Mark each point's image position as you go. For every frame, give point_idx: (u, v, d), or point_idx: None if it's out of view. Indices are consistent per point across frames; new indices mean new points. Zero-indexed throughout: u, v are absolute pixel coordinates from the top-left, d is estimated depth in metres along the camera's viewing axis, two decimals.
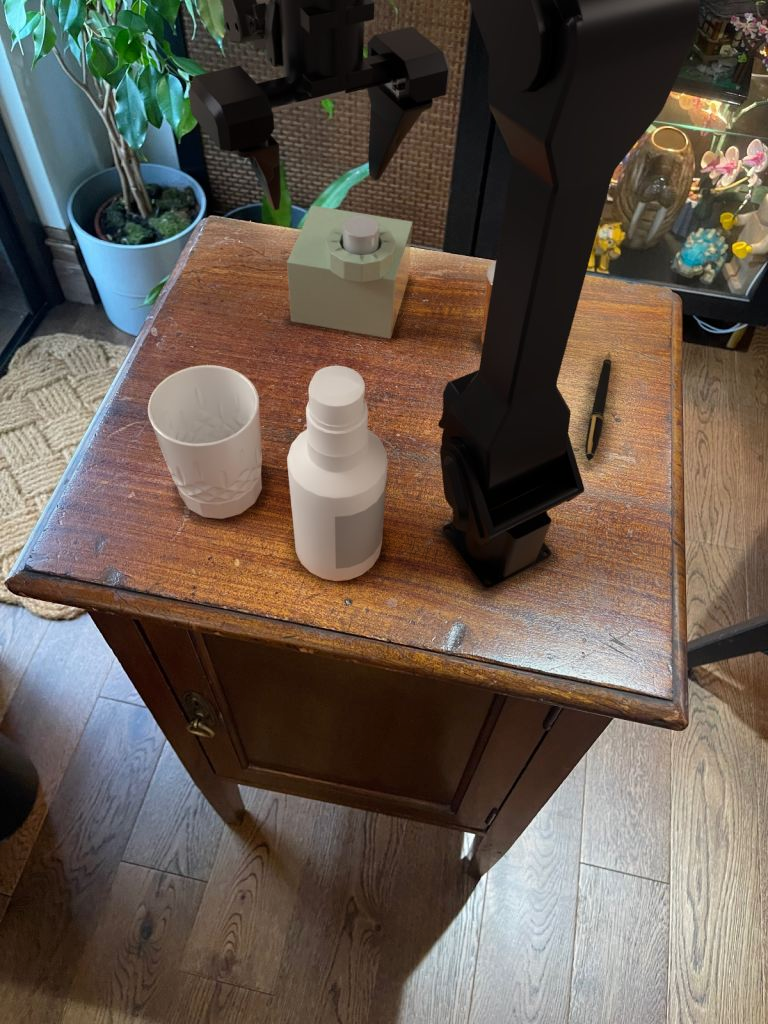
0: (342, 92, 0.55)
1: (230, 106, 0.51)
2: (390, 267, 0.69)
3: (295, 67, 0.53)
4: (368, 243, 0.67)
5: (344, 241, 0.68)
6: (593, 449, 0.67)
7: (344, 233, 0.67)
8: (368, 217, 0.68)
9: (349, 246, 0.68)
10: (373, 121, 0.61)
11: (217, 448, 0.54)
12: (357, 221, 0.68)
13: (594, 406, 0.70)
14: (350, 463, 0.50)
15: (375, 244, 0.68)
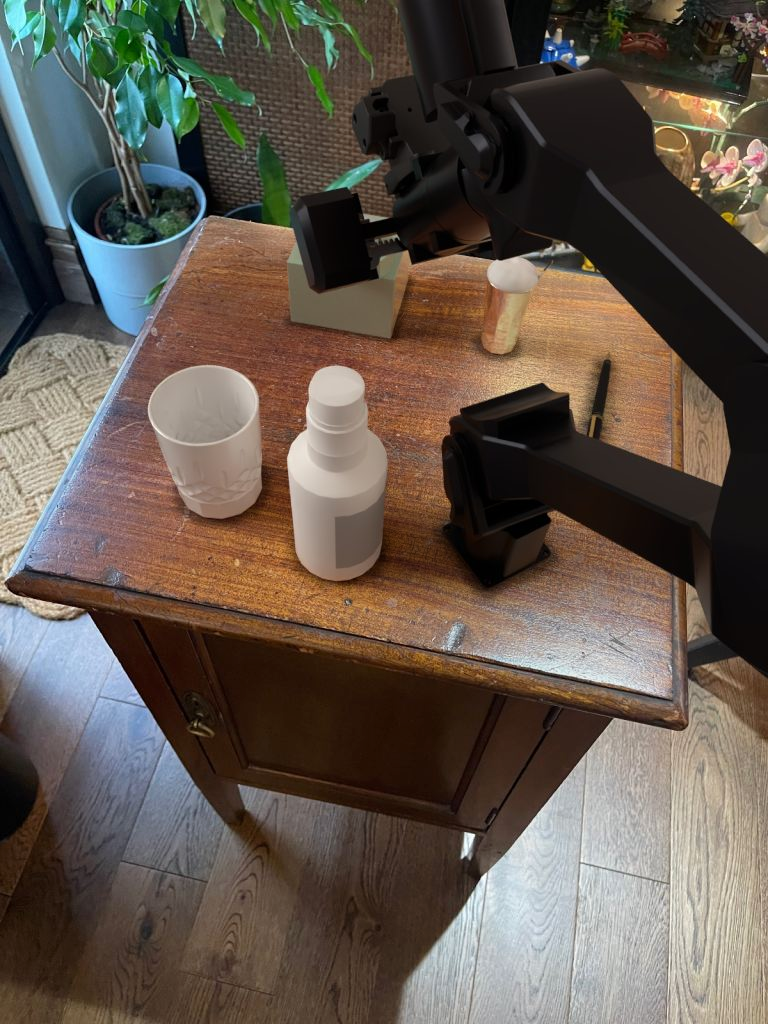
0: None
1: (333, 275, 0.51)
2: (390, 267, 0.69)
3: (408, 235, 0.52)
4: None
5: None
6: None
7: None
8: (368, 217, 0.68)
9: None
10: None
11: (217, 448, 0.54)
12: None
13: (594, 406, 0.70)
14: (350, 463, 0.50)
15: None
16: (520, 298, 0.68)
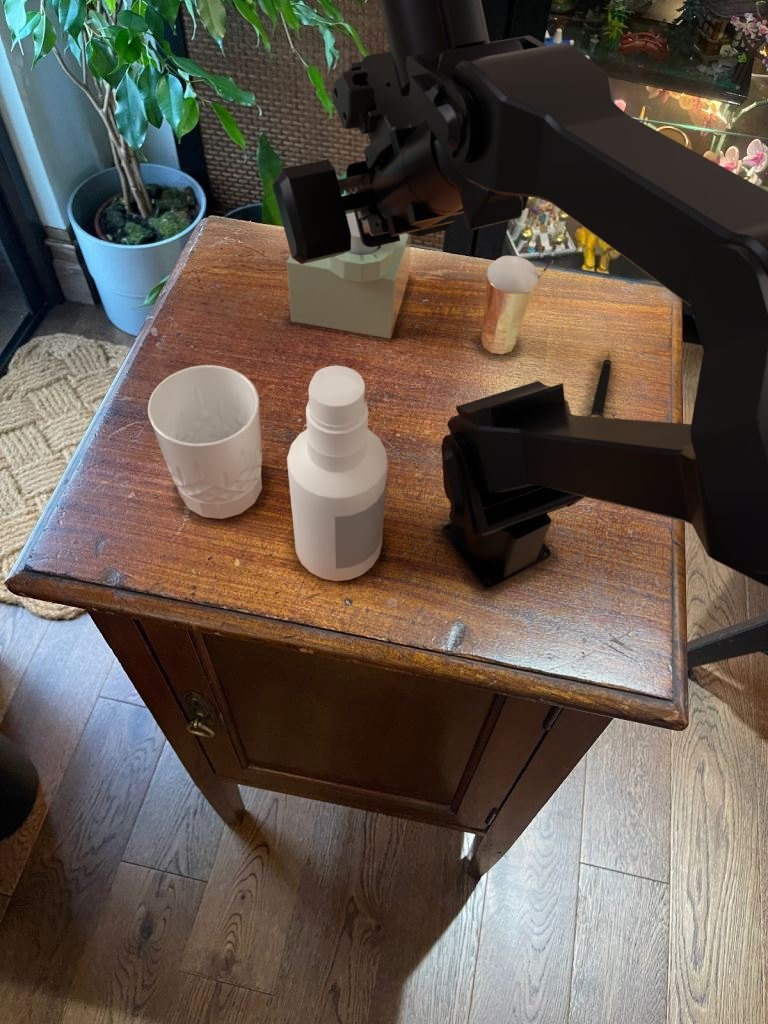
0: None
1: (314, 245, 0.53)
2: (390, 267, 0.69)
3: (387, 207, 0.54)
4: None
5: None
6: None
7: None
8: None
9: None
10: None
11: (217, 448, 0.54)
12: None
13: (593, 406, 0.70)
14: (350, 463, 0.50)
15: None
16: (520, 298, 0.68)
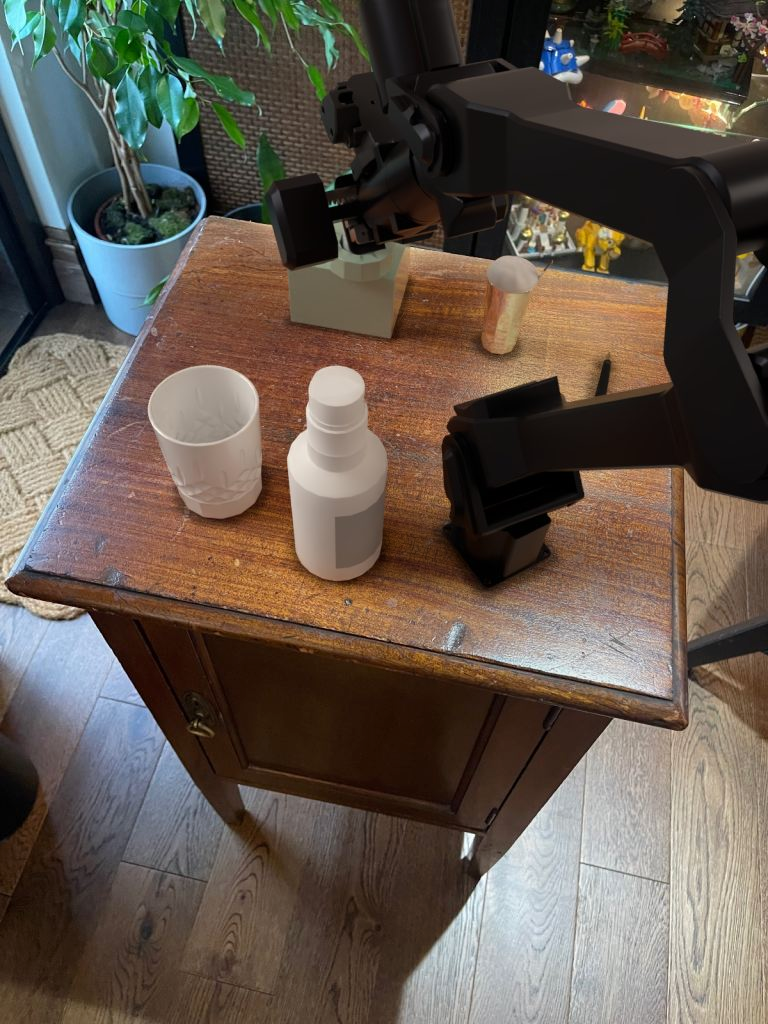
0: None
1: (303, 253, 0.56)
2: (390, 267, 0.69)
3: (372, 217, 0.57)
4: None
5: (344, 245, 0.68)
6: None
7: (344, 237, 0.68)
8: None
9: (349, 250, 0.68)
10: None
11: (217, 448, 0.54)
12: None
13: None
14: (350, 463, 0.50)
15: None
16: (520, 298, 0.68)
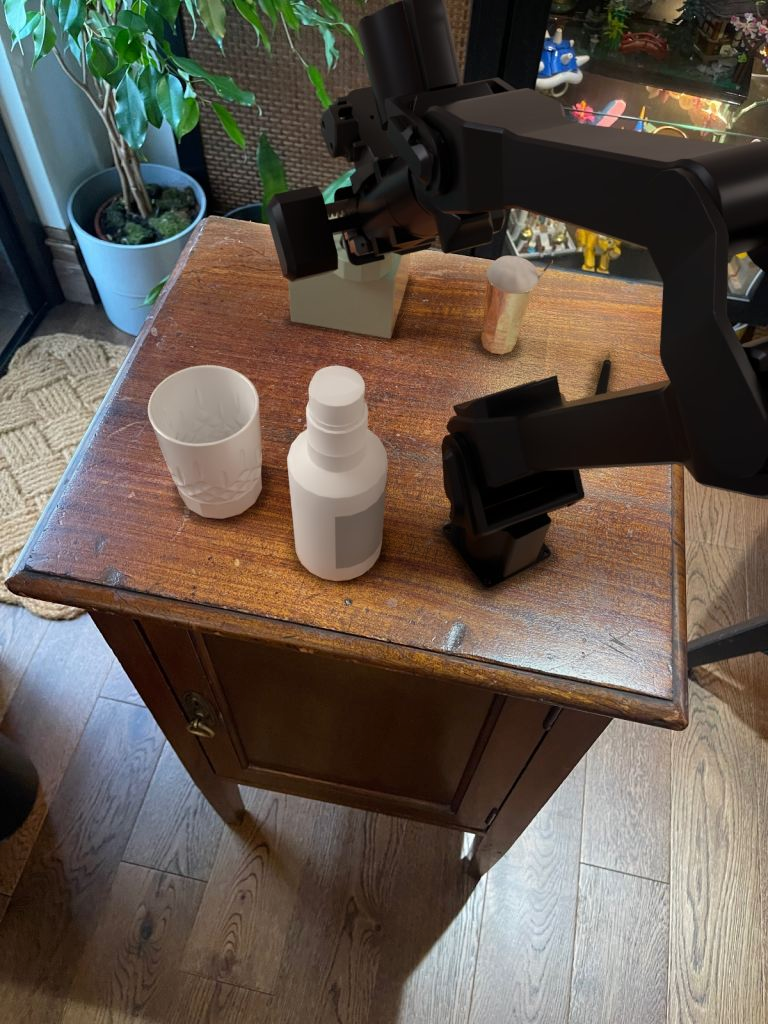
0: None
1: (304, 264, 0.57)
2: (390, 267, 0.69)
3: (371, 229, 0.58)
4: None
5: None
6: None
7: (344, 247, 0.68)
8: None
9: None
10: None
11: (217, 448, 0.54)
12: None
13: None
14: (350, 463, 0.50)
15: None
16: (520, 298, 0.68)
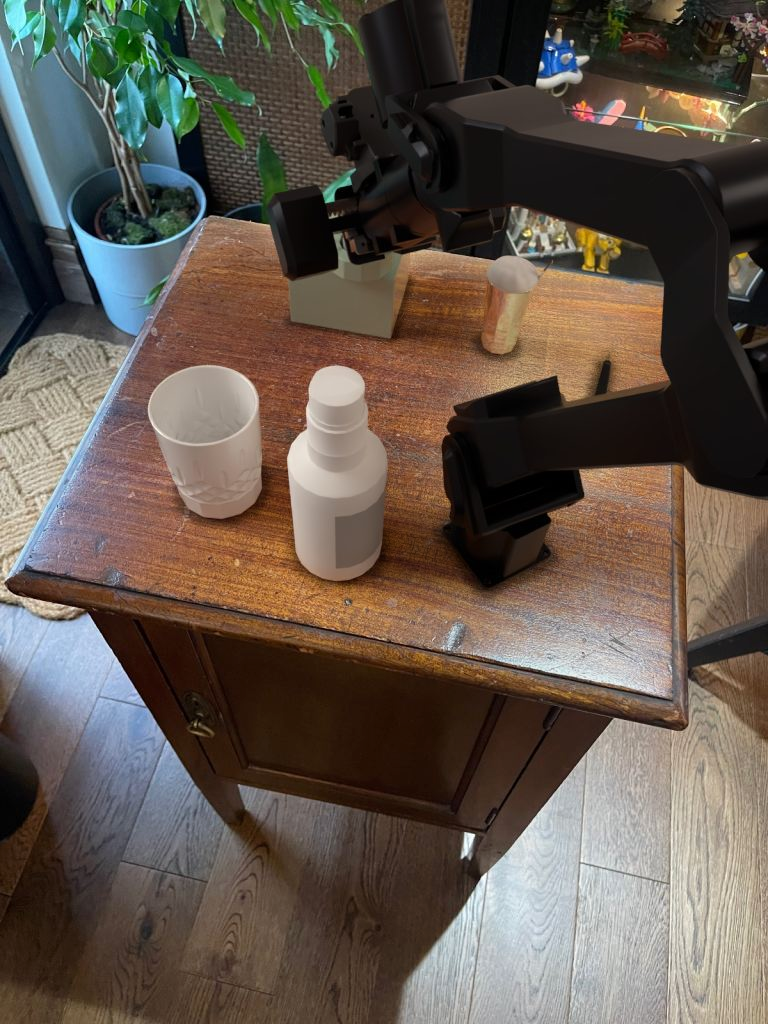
0: None
1: (304, 264, 0.57)
2: (390, 267, 0.69)
3: (371, 228, 0.58)
4: None
5: None
6: None
7: (344, 246, 0.68)
8: None
9: None
10: None
11: (217, 448, 0.54)
12: None
13: None
14: (350, 463, 0.50)
15: None
16: (520, 298, 0.68)
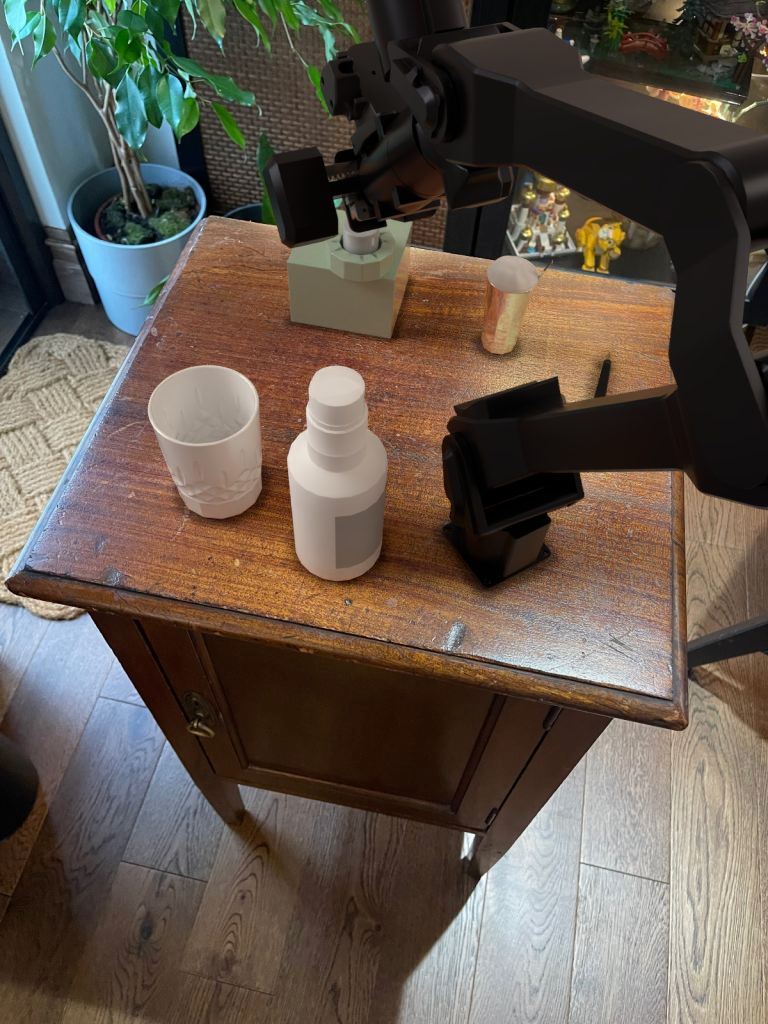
0: None
1: (302, 229, 0.55)
2: (390, 267, 0.69)
3: (373, 192, 0.55)
4: (368, 243, 0.67)
5: (344, 241, 0.68)
6: None
7: (344, 233, 0.67)
8: None
9: (349, 246, 0.68)
10: None
11: (217, 448, 0.54)
12: None
13: None
14: (350, 463, 0.50)
15: (375, 244, 0.68)
16: (520, 298, 0.68)
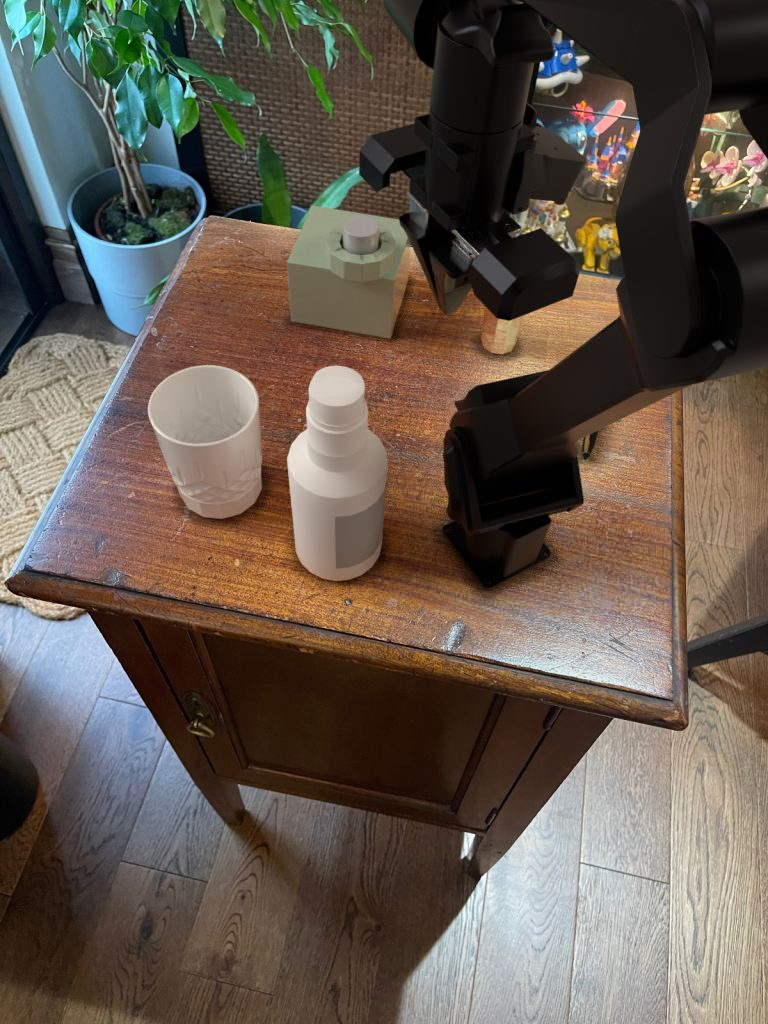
0: None
1: (373, 141, 0.54)
2: (390, 267, 0.69)
3: None
4: (368, 243, 0.67)
5: (344, 241, 0.68)
6: (590, 448, 0.67)
7: (344, 233, 0.67)
8: (368, 217, 0.68)
9: (349, 246, 0.68)
10: None
11: (217, 448, 0.54)
12: (357, 221, 0.68)
13: None
14: (350, 463, 0.50)
15: (375, 244, 0.68)
16: None
